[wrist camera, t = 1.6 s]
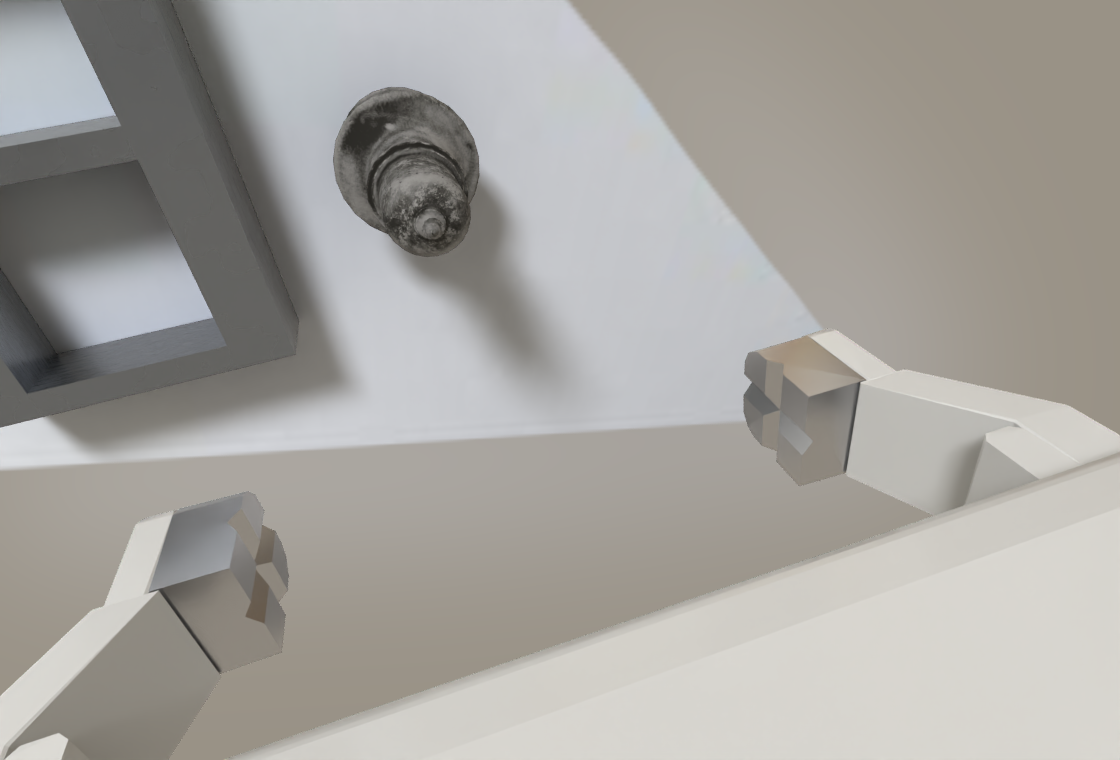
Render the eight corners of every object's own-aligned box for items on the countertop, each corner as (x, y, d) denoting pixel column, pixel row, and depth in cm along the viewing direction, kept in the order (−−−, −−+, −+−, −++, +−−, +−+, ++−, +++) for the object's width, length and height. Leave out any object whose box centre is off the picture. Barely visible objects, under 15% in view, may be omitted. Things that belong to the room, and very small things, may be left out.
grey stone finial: (460, 218, 32) (515, 322, 22) (333, 208, 30) (332, 317, 20) (471, 89, 29) (540, 143, 19) (333, 69, 27) (330, 118, 17)
